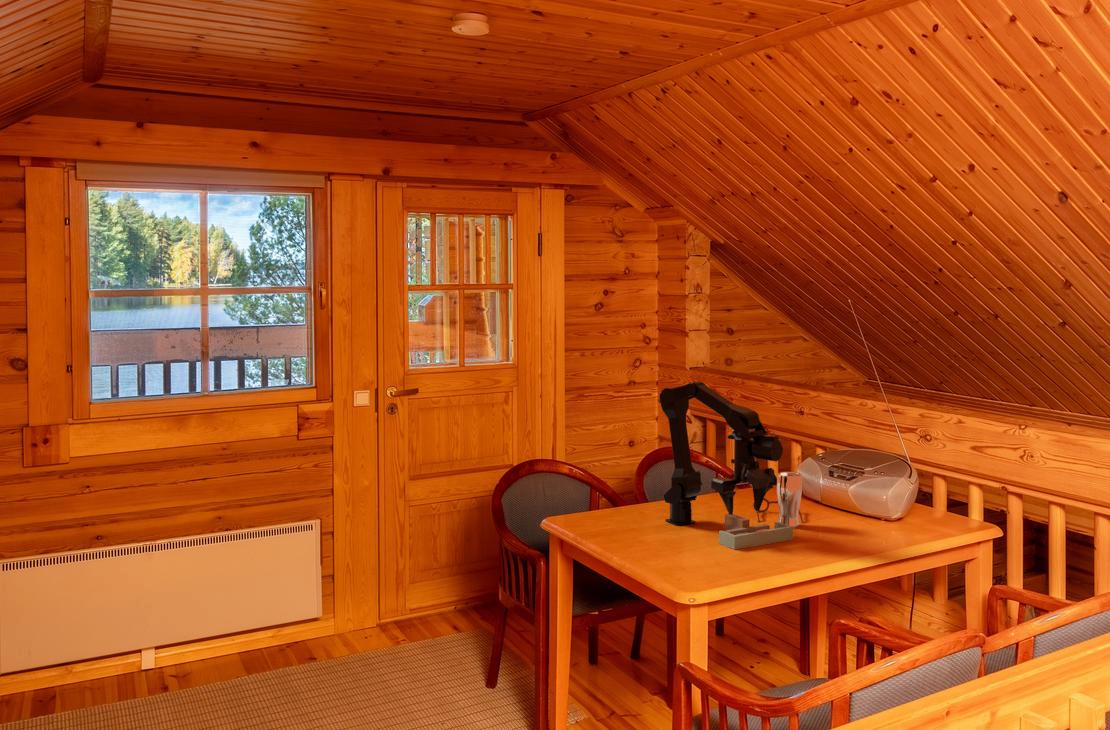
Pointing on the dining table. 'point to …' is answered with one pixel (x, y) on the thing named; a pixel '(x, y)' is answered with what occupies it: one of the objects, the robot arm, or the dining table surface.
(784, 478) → the beer glass
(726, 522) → the scraper
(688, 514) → the robot arm
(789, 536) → the box
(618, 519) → the dining table surface
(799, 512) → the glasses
